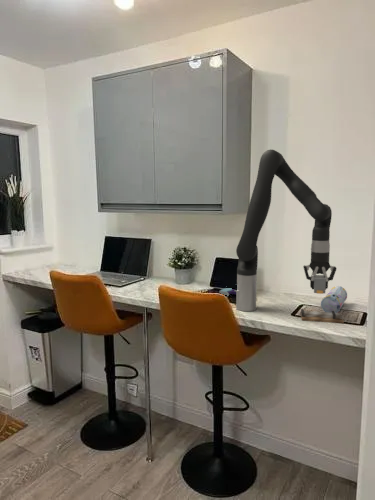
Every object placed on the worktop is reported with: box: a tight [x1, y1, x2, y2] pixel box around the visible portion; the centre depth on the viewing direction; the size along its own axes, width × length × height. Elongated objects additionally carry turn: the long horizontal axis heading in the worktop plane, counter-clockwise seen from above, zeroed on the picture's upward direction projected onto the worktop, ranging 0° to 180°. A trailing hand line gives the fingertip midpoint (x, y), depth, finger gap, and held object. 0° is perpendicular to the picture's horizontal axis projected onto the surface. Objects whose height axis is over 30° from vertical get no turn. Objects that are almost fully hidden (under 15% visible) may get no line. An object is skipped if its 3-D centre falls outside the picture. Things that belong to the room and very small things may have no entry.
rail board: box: [300, 308, 345, 324], centre depth 160 cm, size 17×9×3 cm, turn 76°
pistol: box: [218, 287, 236, 297], centre depth 202 cm, size 4×16×15 cm
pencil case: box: [320, 285, 348, 313], centre depth 174 cm, size 21×9×10 cm, turn 148°
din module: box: [313, 274, 326, 295], centre depth 159 cm, size 4×9×6 cm, turn 166°
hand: (318, 289), depth 159 cm, fingers closed on din module, 4 cm apart
